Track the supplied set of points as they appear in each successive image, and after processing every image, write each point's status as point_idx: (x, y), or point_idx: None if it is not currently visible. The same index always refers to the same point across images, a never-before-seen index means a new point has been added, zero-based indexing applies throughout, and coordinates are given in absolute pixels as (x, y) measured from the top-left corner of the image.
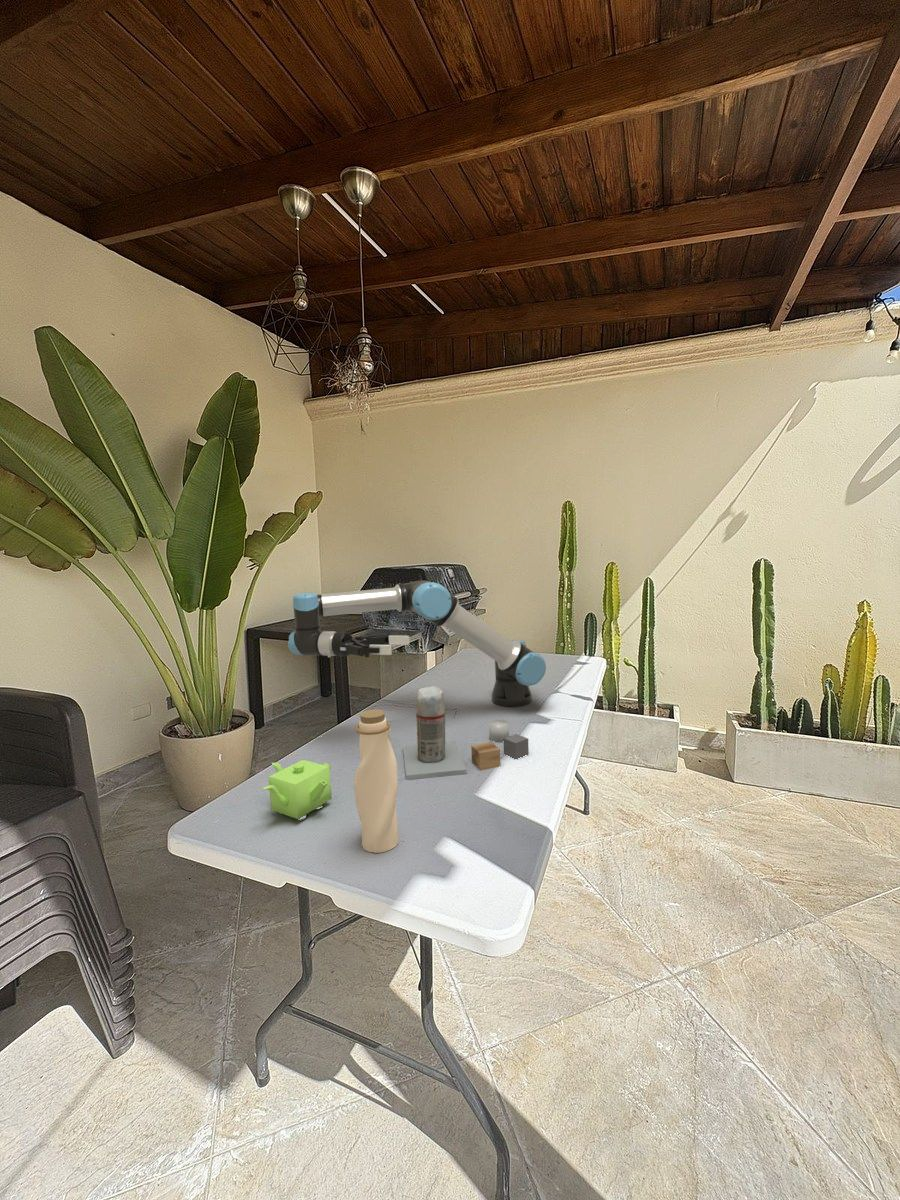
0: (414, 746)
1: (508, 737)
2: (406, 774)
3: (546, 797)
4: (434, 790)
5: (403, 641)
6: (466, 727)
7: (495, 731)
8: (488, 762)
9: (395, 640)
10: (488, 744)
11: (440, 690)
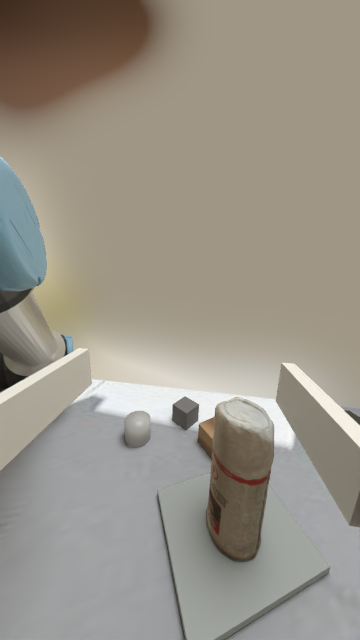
0: (187, 596)
1: (184, 409)
2: (326, 567)
3: (260, 401)
4: (319, 500)
5: (75, 382)
6: (76, 487)
7: (149, 427)
8: None
9: (40, 406)
10: (207, 425)
11: (236, 398)
